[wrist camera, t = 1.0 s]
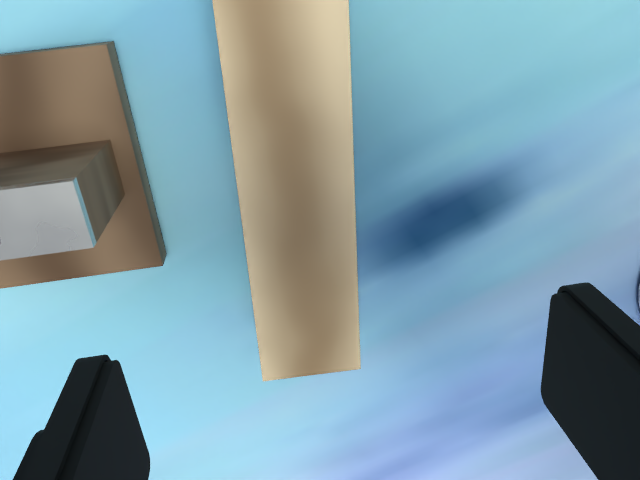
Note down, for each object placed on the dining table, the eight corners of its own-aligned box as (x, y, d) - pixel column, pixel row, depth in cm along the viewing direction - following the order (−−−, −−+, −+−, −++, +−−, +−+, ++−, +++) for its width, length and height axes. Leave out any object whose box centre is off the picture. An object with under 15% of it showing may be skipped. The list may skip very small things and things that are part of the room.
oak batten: (323, -119, 25) (344, -147, 20) (343, 310, 36) (360, 369, 30) (205, -113, 25) (193, -141, 19) (260, 320, 35) (263, 381, 30)
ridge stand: (113, 41, 27) (64, 61, 20) (166, 253, 32) (142, 331, 25) (-95, 64, 26) (-225, 94, 19) (-7, 277, 31) (-82, 364, 24)
